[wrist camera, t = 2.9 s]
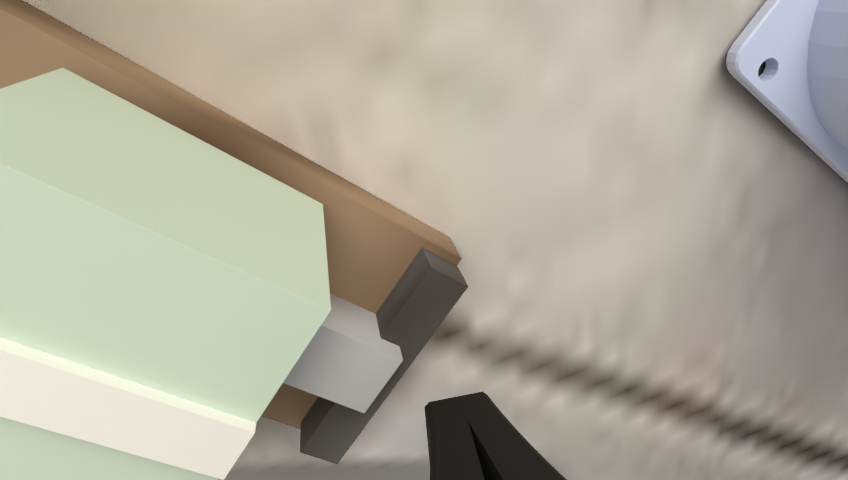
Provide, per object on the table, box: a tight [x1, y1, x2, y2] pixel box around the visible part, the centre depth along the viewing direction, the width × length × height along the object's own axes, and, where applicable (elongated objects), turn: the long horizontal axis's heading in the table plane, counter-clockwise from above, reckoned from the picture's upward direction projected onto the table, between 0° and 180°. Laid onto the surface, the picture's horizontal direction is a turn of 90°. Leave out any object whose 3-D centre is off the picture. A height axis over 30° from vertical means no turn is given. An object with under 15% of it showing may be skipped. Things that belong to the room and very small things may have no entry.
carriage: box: [0, 68, 331, 480], centre depth 9 cm, size 5×5×4 cm
